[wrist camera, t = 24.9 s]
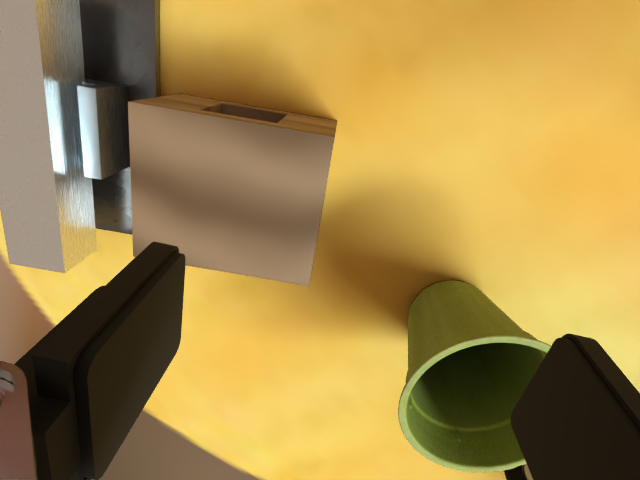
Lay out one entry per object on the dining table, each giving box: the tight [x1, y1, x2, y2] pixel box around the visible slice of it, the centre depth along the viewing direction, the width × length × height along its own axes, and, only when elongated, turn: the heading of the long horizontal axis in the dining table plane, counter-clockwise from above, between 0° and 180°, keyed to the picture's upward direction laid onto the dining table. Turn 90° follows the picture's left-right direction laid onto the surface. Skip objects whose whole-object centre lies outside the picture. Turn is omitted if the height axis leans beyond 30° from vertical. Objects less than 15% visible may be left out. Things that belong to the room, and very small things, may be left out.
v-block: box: [77, 0, 160, 234], centre depth 29 cm, size 18×12×5 cm, turn 171°
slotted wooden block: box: [128, 94, 337, 286], centre depth 28 cm, size 10×12×8 cm
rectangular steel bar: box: [0, 0, 97, 273], centre depth 27 cm, size 18×4×4 cm, turn 171°
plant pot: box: [398, 281, 551, 472], centre depth 31 cm, size 12×12×11 cm
